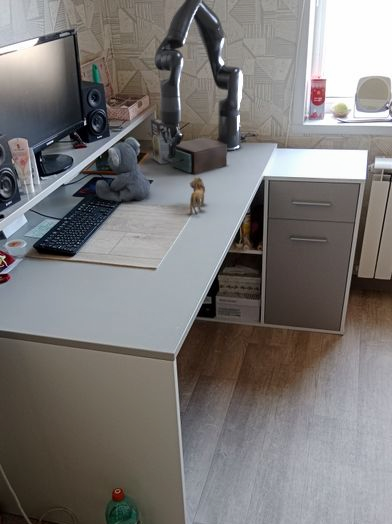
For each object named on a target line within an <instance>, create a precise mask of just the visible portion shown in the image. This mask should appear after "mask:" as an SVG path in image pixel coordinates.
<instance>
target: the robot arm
mask: <svg viewBox="0 0 392 524" xmlns="http://www.w3.org/2000/svg"><path fill="white" fill-rule="evenodd" d="M193 21H194V24H195V26H196V29H197V31H198V35H199V38H200V39H201V40H200V41H201V42H202V46H203V47H204V51H205V53H206V56H207V59H208V62H209V65H210V70H211V73H212V78H213V82H214V84H215V86H216V87H217V88H218V89H220V90H223V91H227V95H226V97H224V98H221V99H219V100H218V105H217V107H218V108H217V109H218V116H217V117H218V121H217V122H218V123H217V124H218V125H217V126H218V127H217V128H218V129H217V130H218V131H217V133H218V137H217V140H216V141H218V142H221V143H224V144H227V151H230V152H231V151H236V150H239V149H240V148H241V145H242V144H241V143H245V142H247V141H248V138H247V137H246V136H248V135H253V136H257V133H255V134H251V133H250V132H251V131H248V132H245V133H243V134H242V125H241V124H240V117H241V115H240V114H241V113H240V111H241V109H240V108H241V101H242V95H243V81H244V79H243V78H244V77H243V76H244V75H243V72H242V69H241V68H240V67H237V66H231V65H226V63H225V61H224V58H223V49H224V44H225V40H226V36H225V31H224V27H223V25H222V22H221V20H220V18H219V16H218V15H217V13H216V12H215V11H214V10H213V9H212V8H211V6H209V5H208V4H207V3H206V1H204V0H184V1H183V3H182V4H181V5H180V6H179V8H177V10H176V11H175V13H174V15H172V18H171V20H170V23H169V25H168V28H167V32H166V35H165V37H164V38H163V39H162V41H161V42H160V44H159V45H158V47H157V49H156V51H155V54H154V58H153V62H154V66H155V68H156V69H157V70H159V71H164V72H170V73H169V76H168V77H165V78H164V77H163V78H162V79H161V80H160V82H159V83H160V84H159V86H160V119H161V121H162V122H163V123H164V124H163V128H161V129H160V132H161V134H162V137H163V139H164V141H165V143H167V145H168V146H169V155H170V156H175V155H176V145H179V144H180V142H182V140H183V137H184V136H185V134H184V133H183V132H181V131H180V123H181V122H182V114H181V113H182V110H181V109H182V108H181V106H182V105H181V104H182V103H181V98H180V97H181V96H180V95H181V94H180V82H181V77H182V72H183V68H184V56H183V54H182V52H181V51H180V50H178V49H181V48H183V47H184V46H185V44H186V41H187V37H188V34H189V31H190V27H191V25H192V23H193Z"/></svg>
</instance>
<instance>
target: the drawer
mask: <svg viewBox="0 0 392 524" xmlns="http://www.w3.org/2000/svg"><path fill="white" fill-rule="evenodd" d="M162 160H163V161H166V162H168V163H167V164H168V165H169V166H171V167H174V168H176V169H179V170H181V171H183V172H187V173H190V172H192V171H191V169H192V170H193V153H190V152H187V151H184V150H181V149H178V148H176V155H175V156H170V155H169V157H162Z"/></svg>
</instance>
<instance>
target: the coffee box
mask: <svg viewBox="0 0 392 524" xmlns="http://www.w3.org/2000/svg"><path fill="white" fill-rule="evenodd" d="M163 124H164V123H163V122H162V121H161V118H153V119H150V127H151V143H152V144H151V145H152V158H153V160H154V161H156V162H158V163H159V164H160V165H164V164H169V163H168V162H166V161H163V160H162V157H169V146H168V145H167V143H165V141H164V139H163V137H162V134H161V132H160V129H161V128H163Z"/></svg>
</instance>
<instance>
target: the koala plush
mask: <svg viewBox="0 0 392 524" xmlns="http://www.w3.org/2000/svg"><path fill="white" fill-rule="evenodd" d="M140 147H141V144H140V143H139V142H138V140H136V138H134V137H133V136H129V137H127V138H126V139H124V142H118V143H115V144H114V145H113V147H110V148H108V158H107V163H108V165H109V168H110V169H111V170H112V171H113V173H115V174H116V175H117V176H116V178H114V179H113V180H112V181H111V183H110V185H109V184H108V182H107V181H106V180H104V179H101V180H100V179H99V180H97V181H96V183H95V193H96V195H97V197H98V198H99V199H101V200H104V201H114V202H117V203H120V202H124V201H125V202H130V201H133V200H135V201H142V200H144V199H146V198H147V197H148V196H149V195H150V192H151V183H150V180H149V179H148V178H146V177H145V176H144V174H143V173H142V170H141V168H140V166H138V158H137V156H139V155H140V151H141V149H140Z"/></svg>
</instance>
